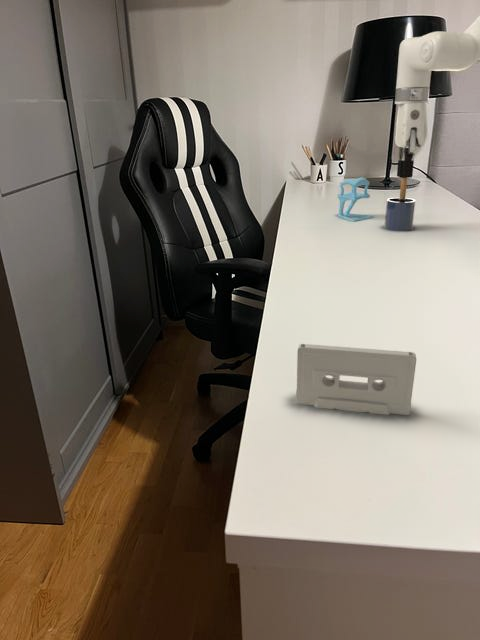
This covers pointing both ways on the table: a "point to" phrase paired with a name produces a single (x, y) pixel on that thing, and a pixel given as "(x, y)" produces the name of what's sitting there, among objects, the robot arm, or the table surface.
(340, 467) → the table surface
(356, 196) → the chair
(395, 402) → the cassette
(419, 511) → the table surface
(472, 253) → the table surface
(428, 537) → the table surface
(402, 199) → the brush
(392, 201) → the pencil cup
